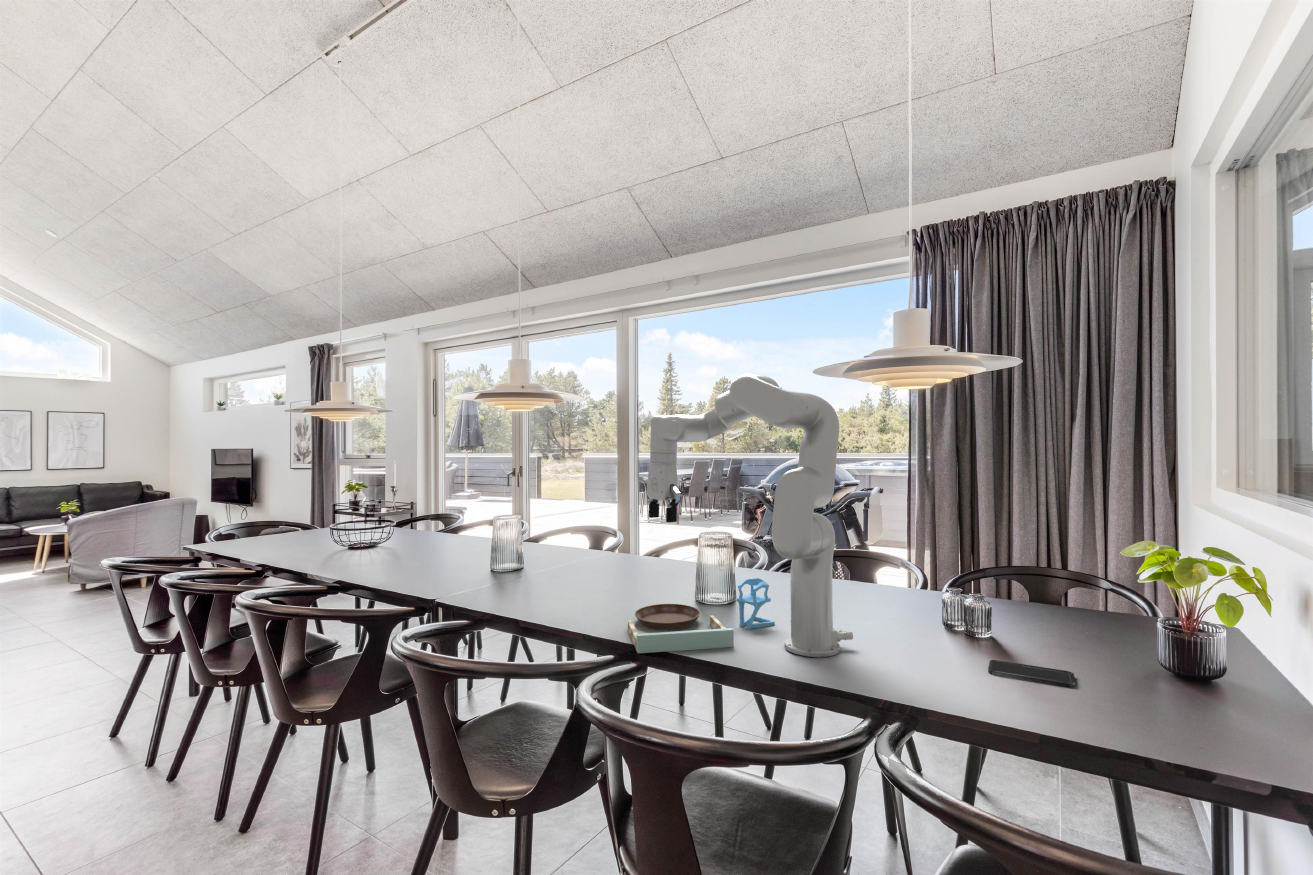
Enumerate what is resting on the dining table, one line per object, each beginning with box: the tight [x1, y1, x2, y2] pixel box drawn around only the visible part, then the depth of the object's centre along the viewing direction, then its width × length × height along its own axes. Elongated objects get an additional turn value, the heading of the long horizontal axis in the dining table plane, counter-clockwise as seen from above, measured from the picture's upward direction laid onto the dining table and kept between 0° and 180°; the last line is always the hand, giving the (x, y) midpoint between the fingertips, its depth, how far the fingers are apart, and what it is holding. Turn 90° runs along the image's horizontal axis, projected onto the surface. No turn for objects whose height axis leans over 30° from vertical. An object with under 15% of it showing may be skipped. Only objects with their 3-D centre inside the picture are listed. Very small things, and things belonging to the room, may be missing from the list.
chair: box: [735, 578, 776, 630], centre depth 163 cm, size 8×8×12 cm
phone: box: [987, 659, 1076, 689], centre depth 126 cm, size 8×1×15 cm
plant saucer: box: [634, 603, 701, 631], centre depth 166 cm, size 18×18×3 cm
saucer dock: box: [627, 615, 735, 654], centre depth 152 cm, size 18×23×4 cm
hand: (662, 519), depth 173 cm, fingers open, 9 cm apart
